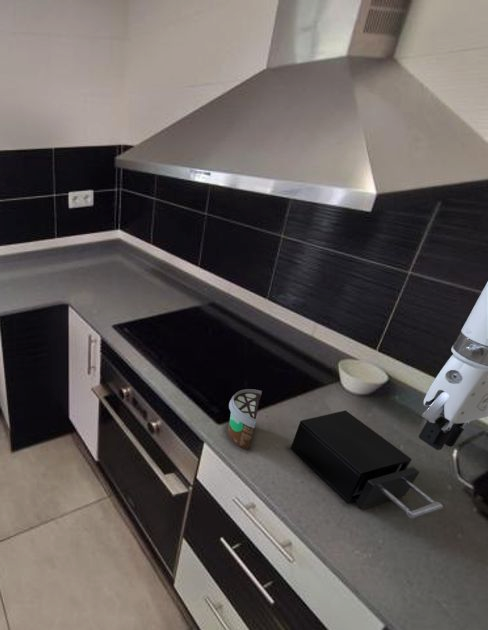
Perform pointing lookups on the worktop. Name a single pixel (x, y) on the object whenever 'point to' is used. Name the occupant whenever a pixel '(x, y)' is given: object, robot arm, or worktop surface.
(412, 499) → the worktop surface
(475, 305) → the robot arm
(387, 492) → the drawer
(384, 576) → the worktop surface
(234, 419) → the food container
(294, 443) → the mini drawer cabinet
